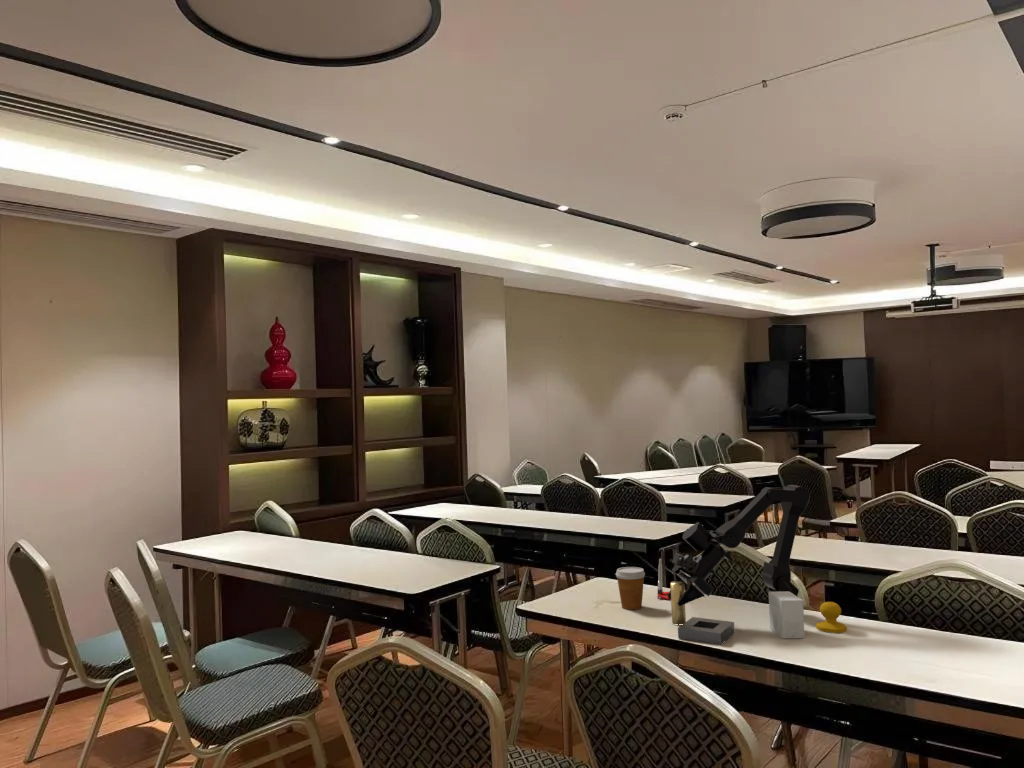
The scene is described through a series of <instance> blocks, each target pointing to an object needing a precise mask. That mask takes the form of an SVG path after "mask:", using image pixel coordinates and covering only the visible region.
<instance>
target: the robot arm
mask: <svg viewBox="0 0 1024 768" xmlns="http://www.w3.org/2000/svg"><path fill="white" fill-rule="evenodd" d="M810 494H811V493H810V492H809V490H808V489H807V488H806V487H804V486H799V485H794V484H789V485H788V484H787V485H786V486H784V487H768V486H767V487H766V486H765V487H763V488H762V489H761V490H760V492H759V493H758V494H757V495H756V496H755V497H754V498H753V500H751V502H749V504H747V505H746V507H745V508H743V510H742V511H741V512H740V513H738V515H736V517H734V518H733V519H730V520H728V521H727V522H725V523H724V524H722V525H720V526H719V527H718V528H717V529H716V530H713V531H708V530H707V529H706V528H705V527H704V525H702V524H701V523H700V522H696V523H694V524H692V525H691V526H689V527H688V528H687V529H685V531H684V532H683V533H682V539H683V540H684V541H685V542H686V543H687V544H688V545H689V546H690V547H691V548H693V549H694V550H695V552H701V553H700V554H699V555H698V556H691V555H689V554H686V555H682V554H680V553H677V552H675V554H674V556H673V559H672V561H671V563H672V564H675V565H674V566H673V567H672V569H671V571H672V576H673V581H681V582H684V590H685V592H684V593H683V595H682V596H681V598H680V600H679V601H678V603H677V604H678V605H679V606H682V605H684V604H685V605H686V604H688V603H690V602H693V601H696V600H698V599H701V598H702V597H704V598H705V597H706V596H707V597H709V596H710V595H711V594H712V593H713V591H714V590H713V586H712V585H711V584H709V582H707V581H706V579H707V578H708V577H709V576H710V575H714V574H715V573H716V571H715V569H716V568H717V566H718V565H719V564H721V561H722V560H723V559H726V560H728V561H732V551H731V550H728V549H735V548H737V547H738V546H739V545H740V544H741V542H742V541H743V540H744V538H745V537H746V533H747V531H748V530H749V528H750V527H751V526H752V525H753V524H754V523H755V522H756V520H757V519H759V517H760V516H761V515H762V514H763V513H765V512H766V511H767V509H768V508H769V507H770V506H771V505H772V504H773V503H774V502H780V504H781V508H782V516H781V521H780V525H779V529H778V534H777V536H776V537H777V538H776V542H775V547H774V551H773V555H772V558H771V559H770V560H769V562H767V561H764V562H763V565H762V567H763V568H762V571H761V573H760V575H761V576H762V582H763V584H764V585H765V586H766V587H767V589H768V590H769V591H768V592H786V591H789V592H791V593H792V594H794V595H796V596H797V597H799V595H798V594H799V591H800V590H799V589H798V587H797V586H795V584H794V583H792V581H791V580H792V578H791V577H792V571H791V567H790V559H791V555H792V550H793V546H794V542H795V537H796V533H797V530H798V524H799V520H800V517H801V515H802V514H803V513H804V512H805V511H806V509H807V507H808V505H809V502H810V499H811V495H810ZM715 543H718V544H715ZM721 545H722V546H724V547H726V548H728V549H725V548H724V547H722V546H721ZM668 592H669V594H668V595H667V596H668V598H669V599H671V589H670V590H669V591H668Z"/></svg>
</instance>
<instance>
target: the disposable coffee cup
mask: <svg viewBox="0 0 1024 768" xmlns="http://www.w3.org/2000/svg"><path fill="white" fill-rule="evenodd" d="M645 576H646V572H645V571H644V568H642V567H637V566H625V567H624V566H623V567H619V568H617V569H616V573H615V577H616V578H617V585H618V592H619V598H620V602H621V608H622V609H624V610H629V609H630V610H629V611H631V610H632V609H635V610H640V609H641V608H642V607H643V594H644V580H645ZM639 608H640V609H639ZM632 611H633V610H632Z"/></svg>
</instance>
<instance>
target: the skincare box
mask: <svg viewBox="0 0 1024 768" xmlns="http://www.w3.org/2000/svg"><path fill="white" fill-rule="evenodd" d="M768 604H769V605H768V608H769V629H770V630H771V631H772V632H774V633H775V634H776V635H777V636H778V637H780V638H781V639H785V640H786V639H805V619H804V618H805V616H804V615H805V614H804V613H805V612H804V611H805V610H804V600H803V599H802V598H801V597H799V596H796V595H794V594H792V593H791V592H789V591H786V592H770V591H768Z"/></svg>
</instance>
